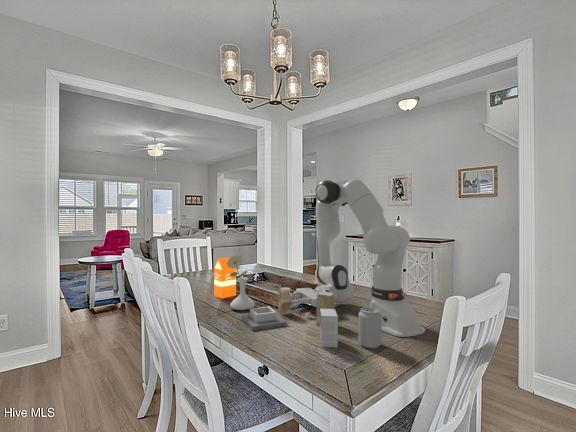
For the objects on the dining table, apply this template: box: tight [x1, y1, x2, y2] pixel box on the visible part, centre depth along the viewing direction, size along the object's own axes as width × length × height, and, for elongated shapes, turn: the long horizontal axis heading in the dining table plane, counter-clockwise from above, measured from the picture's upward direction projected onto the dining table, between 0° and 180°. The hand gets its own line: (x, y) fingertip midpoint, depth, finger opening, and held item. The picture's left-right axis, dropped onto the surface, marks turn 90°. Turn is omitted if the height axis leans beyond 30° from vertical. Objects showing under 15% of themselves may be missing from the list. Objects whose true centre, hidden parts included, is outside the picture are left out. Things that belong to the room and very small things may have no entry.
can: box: [358, 306, 383, 350], centre depth 105 cm, size 8×8×12 cm
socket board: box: [240, 305, 288, 332], centre depth 127 cm, size 16×14×4 cm
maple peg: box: [278, 286, 292, 316], centre depth 137 cm, size 4×4×11 cm
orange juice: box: [213, 256, 237, 299], centre depth 166 cm, size 8×9×20 cm
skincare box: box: [315, 292, 335, 326], centre depth 125 cm, size 6×4×12 cm
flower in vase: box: [227, 254, 256, 311], centre depth 144 cm, size 13×11×25 cm
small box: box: [318, 308, 339, 348], centre depth 107 cm, size 8×6×10 cm
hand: (294, 298), depth 139 cm, fingers open, 8 cm apart
